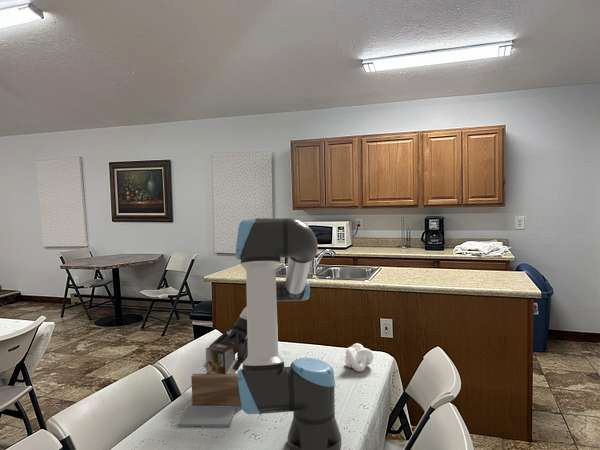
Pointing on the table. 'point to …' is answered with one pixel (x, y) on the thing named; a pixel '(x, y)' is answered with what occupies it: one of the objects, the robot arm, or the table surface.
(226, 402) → the walnut screen
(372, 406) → the table surface
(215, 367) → the coffee box
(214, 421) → the mat
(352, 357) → the white lobed ornament
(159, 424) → the table surface
